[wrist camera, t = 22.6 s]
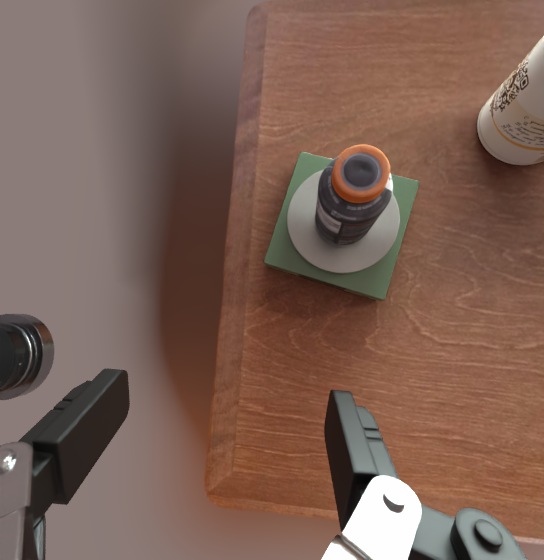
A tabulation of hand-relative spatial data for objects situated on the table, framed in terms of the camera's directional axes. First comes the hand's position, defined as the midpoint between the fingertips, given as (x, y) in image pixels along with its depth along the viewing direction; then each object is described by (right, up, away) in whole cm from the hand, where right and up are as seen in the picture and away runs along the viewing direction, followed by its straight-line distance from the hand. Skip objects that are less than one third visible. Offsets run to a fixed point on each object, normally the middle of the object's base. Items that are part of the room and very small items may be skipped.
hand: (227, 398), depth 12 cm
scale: (+10, +11, +24) cm, 29 cm away
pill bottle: (+9, +11, +21) cm, 25 cm away
